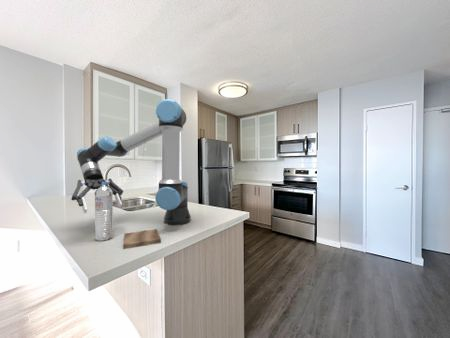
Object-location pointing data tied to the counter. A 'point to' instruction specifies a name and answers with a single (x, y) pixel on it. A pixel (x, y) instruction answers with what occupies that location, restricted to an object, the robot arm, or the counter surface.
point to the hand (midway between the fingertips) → (104, 208)
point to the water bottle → (103, 213)
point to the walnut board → (141, 238)
